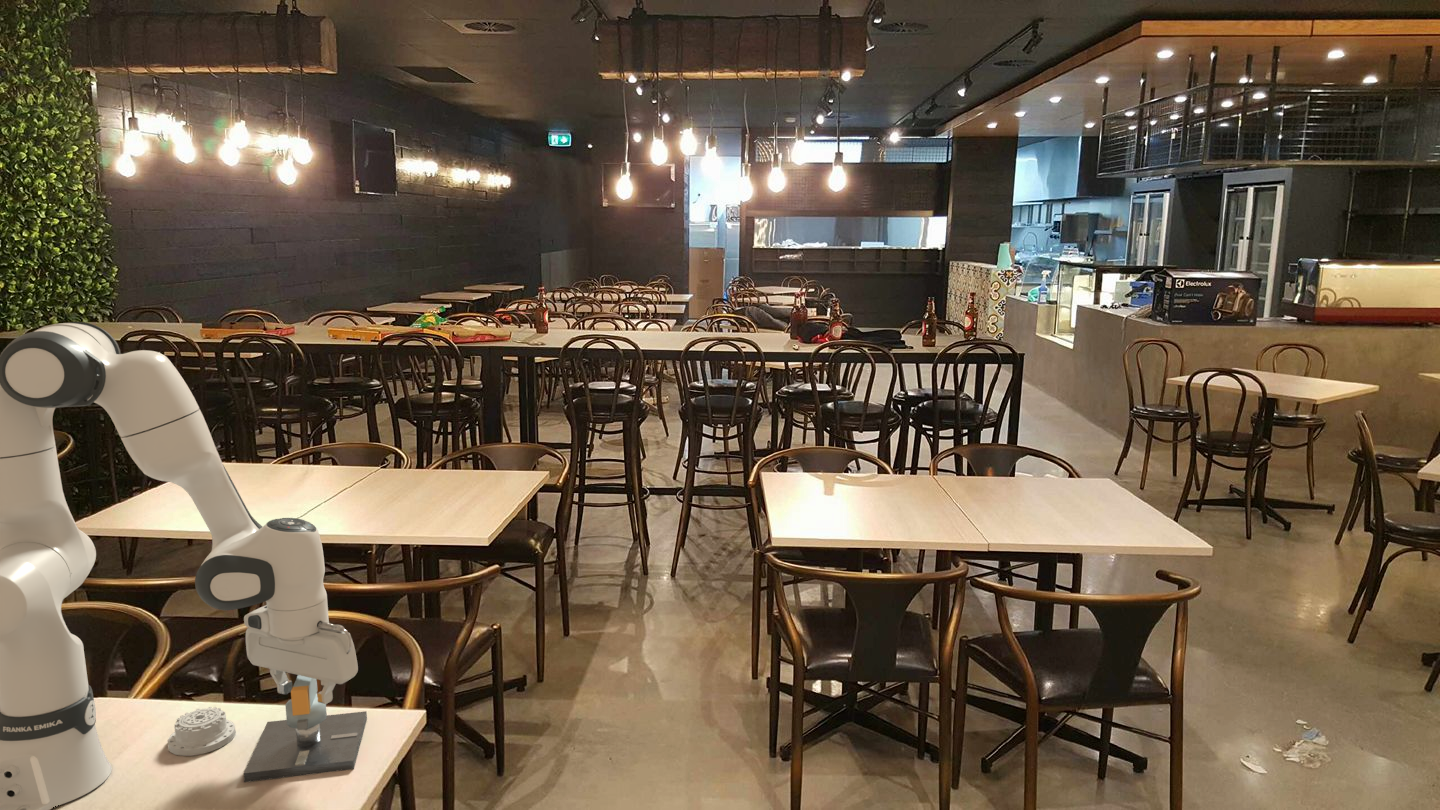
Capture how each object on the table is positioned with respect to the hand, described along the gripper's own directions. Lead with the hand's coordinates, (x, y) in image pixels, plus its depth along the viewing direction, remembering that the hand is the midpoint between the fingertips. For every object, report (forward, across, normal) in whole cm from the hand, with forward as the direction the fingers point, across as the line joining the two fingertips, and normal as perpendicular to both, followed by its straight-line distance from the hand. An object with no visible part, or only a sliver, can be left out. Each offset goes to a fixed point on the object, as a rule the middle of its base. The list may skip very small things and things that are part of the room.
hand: (305, 697), depth 152 cm
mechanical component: (+10, +19, +4) cm, 22 cm away
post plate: (+9, 0, 0) cm, 9 cm away
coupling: (+4, 0, 0) cm, 4 cm away
